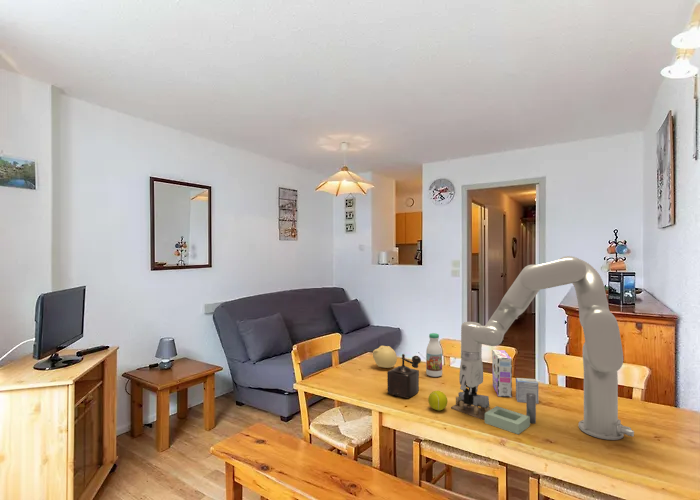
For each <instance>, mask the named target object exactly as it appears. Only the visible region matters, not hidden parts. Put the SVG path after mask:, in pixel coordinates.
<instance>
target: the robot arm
mask: <svg viewBox="0 0 700 500" xmlns="http://www.w3.org/2000/svg"><path fill="white" fill-rule="evenodd" d="M571 284H572V285H573V287H574V290H575V295H576V296H575V297H576V300H577V305H578V315H579V323H580V326H581V327H582V330H583V331H582V332H583V335H584V336H583V337H584V343H583V346H582V364H583V420H579V422H578V429H579V430H580V431H582V432H583V433H585V434H587V435H589V436H592V437H594V438H597V439H601V440H608V441H619V440H622V439H623V438H624V436H625V435H626V436H629V437H635V436H634V435H635V430H632V427H629V426H626V425H623V424H622V422H621V419H619V418H618V415H619V413H618V412H619V408H618V407H619V401H618V400H619V399H618V397H619V396H618V395H619V393H618V391H619V390H618V389H619V388H618V387H619V384H618V383H619V377H618V371H620V370H621V368H622V367H623V364H624V352H623V345H622V344H623V343H622V339H621V333H620V332H621V331H620V326H619V323H618V320H617V318H616V316H615V315H614V314H613V313H612V312H611V311H610V308H609V303H608V297H607V294H606V288H605V284H604V280H603V279H602V276H601V275H600V274H599V272H598V270H596V268H594V267H593V266H592V265H591V264H589V262H587V261H585V260H583V259H580V258H579V257H575V256H572V255H571V256H570V255H566V256H562V257H560V258H559V259H556V260H552V261H547V262H543V263H539V264H528V265H526V266H524V268H522V270H521V271H520V273H519V274H518V275H517V277H516V278H515V280H514V281H513V283H512V284H511V286H510V287H509V288H508V290H507V291H506V293H505V294H504V296H503V298H502V299H501V301H500V303H499V305H498V307H497V308H496V309H495V310H494V312H493V313H492V315H491V316H490V318H489V320H488V321H487V322H486V323H485V325H482V324H481V323H479V322H475V321H465V322H464V321H463V322H462V324H461V329H460V332H461V333H460V336H461V337H460V340H461V341H460V366H459V384H460V388H459V389H460V390H461V391H462V392H463V393H464V403H466V404H469V405H472V394H478V393H477V392H478V389H479V388H478V387H479V385H481V384H483V383H484V365H483V359H482V350H483V349H482V348H483V347H482V345H486V346H489V347H497V346H499V345H501V344H502V342H503V339H504V337H505V334H506V333H507V332H508V330H509V329H510V327H511V326H512V324H513V323H514V322H515V320H516V319H518V317H519V316H521V315H522V314H523V313H524V312H525V311H527V309H528V307H529V305H530V304H531V302H533V300H534V299H535V297H536V295H538V293H539V291H541V290H547V289H550V288H556V287H559V286H560V287H561V286H566V285H571ZM472 406H473V405H472Z"/></svg>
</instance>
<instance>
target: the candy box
mask: <svg viewBox="0 0 700 500" xmlns="http://www.w3.org/2000/svg"><path fill="white" fill-rule="evenodd" d="M491 352H492V353H491V356H492V357H491V360H492V364H491V365H492V367H491V368H492V387H493V389H494V391H495V393H496V395H497V397H503V398H512V397H513V387H512V386H513V379H512V378H513V377H512V376H513V374H512V373H513V370H512V369H513V368H512V367H513V363H512V362H513V359H512V357H511V355H510V354H508V352H507V351H506V350H505V349H504V350H503V349H502V350H501V349H492V350H491Z"/></svg>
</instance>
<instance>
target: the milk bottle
mask: <svg viewBox="0 0 700 500" xmlns="http://www.w3.org/2000/svg"><path fill="white" fill-rule="evenodd" d="M428 337H429V341H428V344H427V347H426V351H425V353H426V354H425V364H426V365H425V368H426V369H425V371H426V372H425V373H426V375H428V376H430V377H435V378H437V377H441V376H442V375H443V350H442V346H441V345H440V341H439V340H440V338H439V337H440V334H439V333H436V332H435V333H434V332H432V333H429V336H428Z"/></svg>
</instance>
